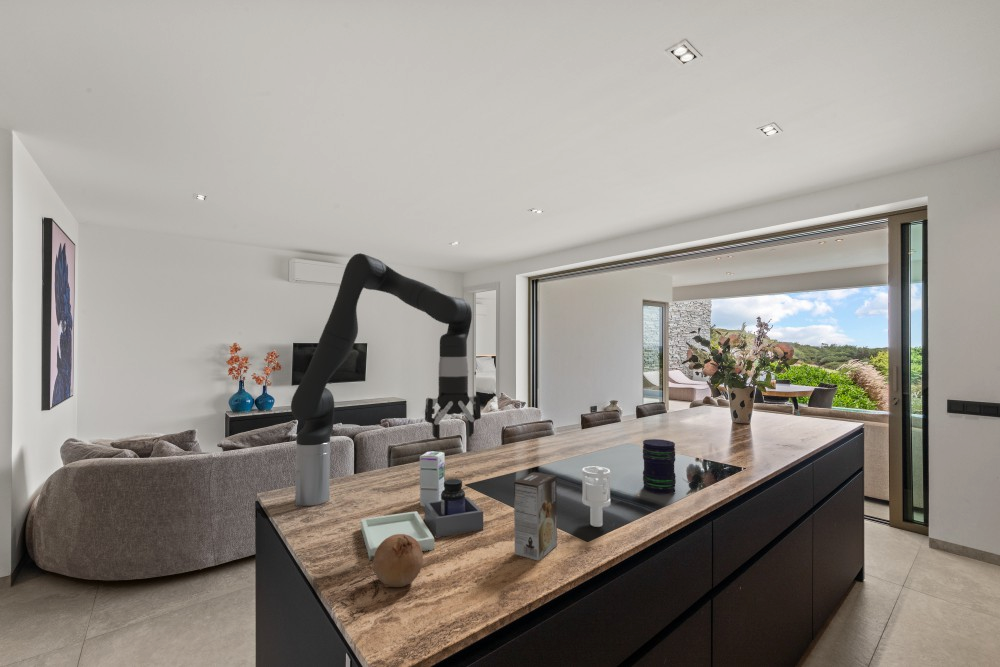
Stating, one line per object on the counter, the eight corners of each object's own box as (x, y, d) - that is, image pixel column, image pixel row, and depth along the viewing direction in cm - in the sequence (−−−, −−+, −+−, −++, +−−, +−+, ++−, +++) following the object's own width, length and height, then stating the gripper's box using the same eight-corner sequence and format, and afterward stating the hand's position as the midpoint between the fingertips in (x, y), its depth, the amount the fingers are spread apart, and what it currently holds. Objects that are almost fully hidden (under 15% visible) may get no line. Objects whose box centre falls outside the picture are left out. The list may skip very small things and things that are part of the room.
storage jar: (638, 490, 143) (638, 443, 143) (648, 482, 151) (647, 438, 152) (671, 496, 137) (670, 447, 138) (679, 488, 145) (678, 441, 146)
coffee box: (533, 539, 107) (532, 471, 107) (557, 545, 104) (557, 475, 104) (513, 554, 99) (513, 480, 100) (539, 562, 96) (539, 485, 96)
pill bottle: (469, 522, 117) (469, 479, 117) (457, 531, 112) (457, 486, 112) (448, 518, 120) (449, 476, 120) (436, 527, 114) (436, 483, 114)
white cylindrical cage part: (588, 530, 112) (587, 469, 112) (578, 519, 119) (578, 462, 119) (615, 529, 113) (614, 468, 113) (604, 518, 120) (603, 461, 120)
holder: (436, 537, 108) (436, 518, 108) (424, 519, 119) (424, 502, 119) (483, 529, 112) (483, 511, 113) (467, 513, 124) (467, 496, 124)
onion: (411, 605, 85) (423, 566, 82) (362, 593, 84) (372, 553, 81) (420, 564, 94) (432, 527, 91) (376, 553, 93) (386, 515, 90)
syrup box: (439, 508, 128) (439, 456, 128) (419, 506, 129) (419, 455, 129) (445, 501, 133) (445, 451, 134) (426, 499, 134) (426, 450, 135)
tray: (369, 561, 96) (370, 549, 96) (361, 529, 113) (361, 519, 113) (434, 549, 101) (434, 538, 102) (416, 520, 118) (416, 511, 118)
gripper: (474, 372, 123) (474, 432, 122) (422, 374, 117) (422, 437, 117) (484, 374, 116) (484, 438, 115) (429, 376, 110) (429, 442, 110)
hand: (453, 437), depth 116 cm, fingers open, 8 cm apart
